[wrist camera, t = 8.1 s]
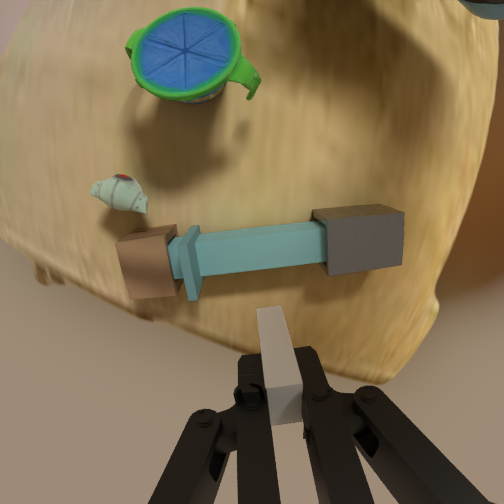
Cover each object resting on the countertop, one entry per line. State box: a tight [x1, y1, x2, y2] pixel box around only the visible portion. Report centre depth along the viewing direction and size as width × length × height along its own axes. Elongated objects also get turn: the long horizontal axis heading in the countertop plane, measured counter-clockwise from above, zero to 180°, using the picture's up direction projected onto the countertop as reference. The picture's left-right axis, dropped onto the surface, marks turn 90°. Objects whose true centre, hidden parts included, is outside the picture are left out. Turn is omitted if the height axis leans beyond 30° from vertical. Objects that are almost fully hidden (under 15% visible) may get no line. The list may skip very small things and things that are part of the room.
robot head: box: [90, 174, 148, 214], centre depth 30 cm, size 8×4×7 cm, turn 69°
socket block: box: [115, 224, 184, 300], centre depth 33 cm, size 7×6×6 cm
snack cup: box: [125, 7, 261, 104], centre depth 24 cm, size 16×10×10 cm
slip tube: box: [167, 221, 326, 301], centre depth 32 cm, size 6×24×9 cm, turn 96°
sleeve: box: [312, 204, 404, 276], centre depth 33 cm, size 7×10×6 cm, turn 96°
